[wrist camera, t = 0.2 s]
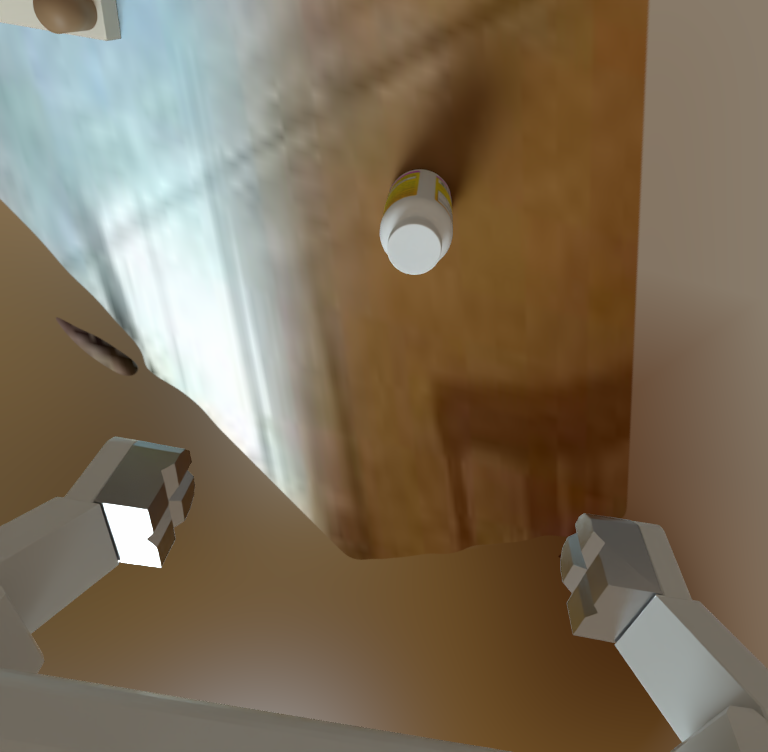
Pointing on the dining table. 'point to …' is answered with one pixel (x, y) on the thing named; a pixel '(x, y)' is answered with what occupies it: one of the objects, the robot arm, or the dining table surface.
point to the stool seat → (65, 16)
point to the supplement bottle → (417, 221)
